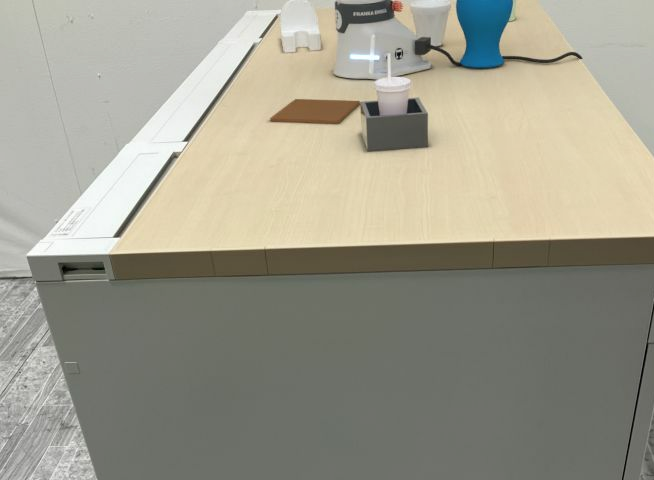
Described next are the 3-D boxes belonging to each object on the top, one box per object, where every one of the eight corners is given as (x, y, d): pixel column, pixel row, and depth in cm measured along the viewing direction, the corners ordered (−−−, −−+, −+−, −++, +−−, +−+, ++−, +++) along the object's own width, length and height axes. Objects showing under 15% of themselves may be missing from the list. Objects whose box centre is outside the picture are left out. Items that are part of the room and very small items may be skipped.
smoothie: (374, 136, 150) (371, 50, 141) (409, 133, 150) (408, 47, 141) (377, 146, 145) (375, 58, 136) (413, 144, 145) (413, 55, 136)
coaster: (295, 101, 171) (295, 98, 170) (359, 104, 167) (359, 100, 167) (270, 121, 161) (270, 118, 160) (338, 123, 157) (338, 120, 157)
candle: (496, 21, 225) (497, -14, 220) (496, 18, 229) (498, -17, 224) (514, 21, 224) (516, -14, 219) (515, 17, 228) (517, -17, 223)
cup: (455, 42, 208) (457, -1, 202) (442, 51, 201) (442, 7, 195) (419, 40, 211) (419, -2, 205) (404, 49, 204) (403, 6, 199)
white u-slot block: (316, 35, 222) (313, -9, 216) (321, 49, 208) (318, 3, 202) (281, 38, 222) (276, -6, 215) (283, 52, 208) (279, 6, 201)
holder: (361, 133, 151) (360, 101, 148) (418, 129, 152) (418, 97, 148) (367, 151, 143) (366, 117, 140) (427, 146, 144) (427, 113, 140)
